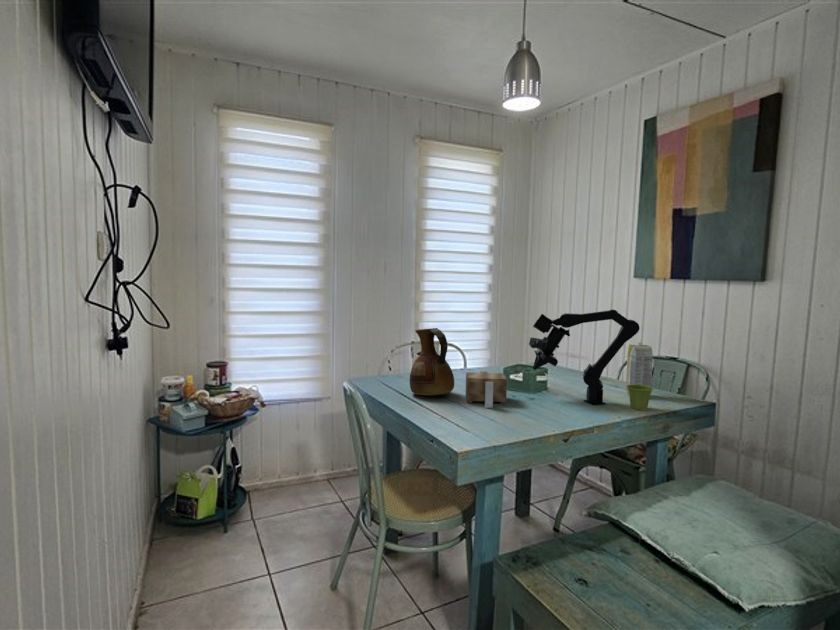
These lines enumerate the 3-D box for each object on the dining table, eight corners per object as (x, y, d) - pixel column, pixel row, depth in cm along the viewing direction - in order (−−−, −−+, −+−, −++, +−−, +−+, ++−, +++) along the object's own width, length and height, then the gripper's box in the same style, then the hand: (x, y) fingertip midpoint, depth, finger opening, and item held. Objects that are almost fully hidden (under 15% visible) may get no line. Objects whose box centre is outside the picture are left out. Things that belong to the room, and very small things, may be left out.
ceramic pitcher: (427, 387, 219) (428, 324, 217) (463, 394, 207) (464, 327, 204) (399, 395, 204) (400, 327, 202) (436, 403, 191) (437, 330, 189)
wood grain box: (502, 397, 203) (502, 373, 202) (506, 404, 191) (506, 379, 190) (465, 396, 204) (466, 372, 203) (467, 403, 192) (467, 378, 191)
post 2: (491, 406, 188) (492, 381, 187) (492, 408, 185) (493, 383, 184) (484, 406, 188) (485, 381, 187) (485, 408, 185) (485, 383, 184)
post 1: (486, 393, 210) (487, 371, 209) (487, 394, 207) (487, 372, 206) (479, 393, 210) (480, 371, 209) (480, 394, 207) (480, 372, 206)
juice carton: (645, 394, 212) (647, 341, 210) (652, 398, 204) (654, 344, 202) (624, 393, 213) (626, 341, 211) (630, 397, 205) (632, 343, 203)
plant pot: (657, 410, 185) (658, 388, 184) (639, 412, 182) (640, 390, 181) (638, 404, 194) (639, 383, 193) (621, 406, 190) (622, 385, 190)
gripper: (531, 324, 206) (513, 353, 210) (544, 338, 189) (524, 369, 192) (552, 335, 208) (533, 364, 212) (567, 350, 191) (546, 381, 194)
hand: (533, 369), depth 202 cm, fingers closed
